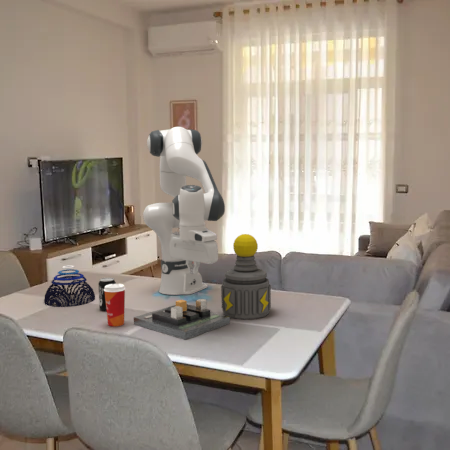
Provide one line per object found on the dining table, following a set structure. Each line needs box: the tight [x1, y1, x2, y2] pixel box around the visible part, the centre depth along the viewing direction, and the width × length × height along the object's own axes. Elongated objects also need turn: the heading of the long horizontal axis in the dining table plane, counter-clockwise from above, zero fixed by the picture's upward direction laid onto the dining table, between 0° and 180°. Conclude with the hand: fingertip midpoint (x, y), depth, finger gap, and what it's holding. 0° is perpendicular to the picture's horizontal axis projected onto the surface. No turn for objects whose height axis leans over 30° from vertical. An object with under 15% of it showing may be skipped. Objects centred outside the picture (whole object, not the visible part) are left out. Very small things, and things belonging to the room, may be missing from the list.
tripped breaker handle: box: [175, 299, 188, 312], centre depth 198 cm, size 3×2×4 cm
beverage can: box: [98, 277, 117, 312], centre depth 218 cm, size 7×7×12 cm
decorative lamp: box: [220, 233, 272, 320], centre depth 209 cm, size 19×19×30 cm
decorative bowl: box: [43, 265, 96, 308], centre depth 232 cm, size 20×20×14 cm
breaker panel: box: [133, 298, 231, 340], centre depth 198 cm, size 22×26×8 cm
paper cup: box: [104, 283, 126, 328], centre depth 199 cm, size 8×8×14 cm
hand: (193, 273), depth 192 cm, fingers closed
